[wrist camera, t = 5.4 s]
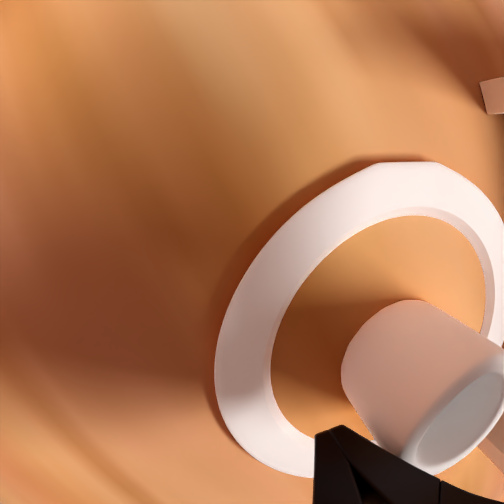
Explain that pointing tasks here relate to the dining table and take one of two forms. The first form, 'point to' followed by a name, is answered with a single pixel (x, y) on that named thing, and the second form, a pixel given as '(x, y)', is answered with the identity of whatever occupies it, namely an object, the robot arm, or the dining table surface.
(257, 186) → the dining table surface
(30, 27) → the dining table surface
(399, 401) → the white ring with cylinder
